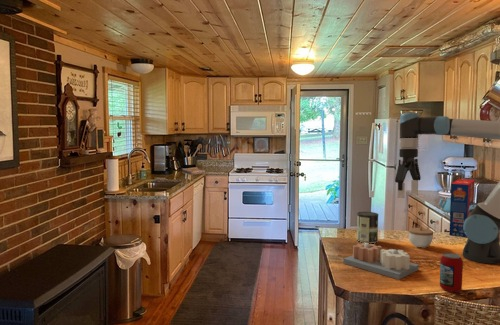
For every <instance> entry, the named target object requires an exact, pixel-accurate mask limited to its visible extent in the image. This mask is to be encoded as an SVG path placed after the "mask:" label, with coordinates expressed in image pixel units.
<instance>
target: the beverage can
mask: <svg viewBox="0 0 500 325" xmlns="http://www.w3.org/2000/svg"><path fill="white" fill-rule="evenodd" d="M461 256H462V255H460V254H458V253H454V252H443V253H442V255H441V257H440V265H439V267H440V268H439V269H440V270H439V287H441V288H442V290H445V291H447V292H449V293H457V292H460V291H462V288H463V268H464V267H463V265H464V263H463V259H462V257H461Z"/></svg>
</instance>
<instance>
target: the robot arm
mask: <svg viewBox="0 0 500 325" xmlns="http://www.w3.org/2000/svg"><path fill="white" fill-rule="evenodd" d="M420 135H422V136H423V135H437V136H451V137H452V136H453V137H463V138H465V137H467V138H477V139H486V140H487V139H489V140H490V139H491V140H500V121H499V120H483V119H482V120H481V119H463V118H449V116H443V115H438V116H420V115H419V113H417V112H404V113H402V114H400V116H399V141H398V142H399V148H400V149H399V153H398V154H399V158H402V159H398V166H397V170H396V174H395V178H394V182H395V183H397V199H398V198H400V199H405V193H406V192H405V190H406V189H405V187H406V186H405V185H406V184H405V180H406V176H407V174H408V172H409V174H410V176H411V178H412V180H411V193H410V195H413V196H414V195H415V196H418V194H419V181H421V173H420V167H419V162H418V161H419V160H418V156H419V149H418V148H419V136H420ZM486 197H487V198H486V199H485V200H484V201H482V202H478V203H477V204H474V205H470V207H469V210H468V211H469V216H468V218H466V219H465V221H464V224H463V230H464V233H465V235H466V236H467V240H466V241H465V244H464V247H463V249H462V257H463V258H465V259H466V260H469V261H472V262H477V263H483V264H490V265H491V264H492V265H493V264H494V265H496V264H497V265H498V264H500V180H499V181H498V182H497V184H496V185H495V187H494V188H493V190H492V191H490V193H489V195H488V196H486Z"/></svg>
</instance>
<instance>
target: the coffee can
mask: <svg viewBox="0 0 500 325" xmlns="http://www.w3.org/2000/svg"><path fill="white" fill-rule="evenodd" d="M356 216H357V218H356V219H357V220H356V241H357V240H358V241H360V242H359V243H361V242H364V243H374V244H377V243H378V242H379V240H378V239H379V213H377V212H373V211H359V212H357V213H356ZM358 241H357V242H358ZM376 242H377V243H376Z"/></svg>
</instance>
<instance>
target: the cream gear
mask: <svg viewBox="0 0 500 325" xmlns="http://www.w3.org/2000/svg"><path fill="white" fill-rule="evenodd" d="M392 250H394V249H393V248H389V249H382V250H380V262H381V265H382V266H385V268H387V269H391V268H395V269H396V270H401V269H409V263H411V262H410V261H411V259H410V258H411V257H410V255H409V254H408V252H405V251H404V249H397V250H398V254H392Z"/></svg>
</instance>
